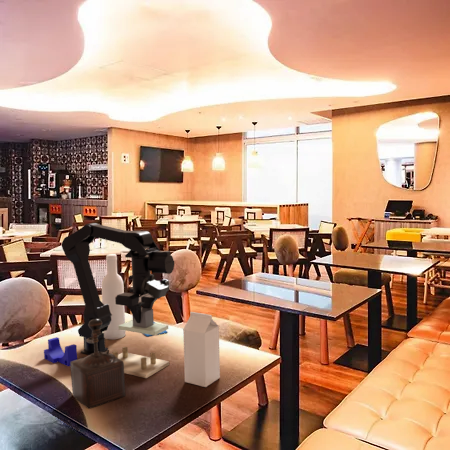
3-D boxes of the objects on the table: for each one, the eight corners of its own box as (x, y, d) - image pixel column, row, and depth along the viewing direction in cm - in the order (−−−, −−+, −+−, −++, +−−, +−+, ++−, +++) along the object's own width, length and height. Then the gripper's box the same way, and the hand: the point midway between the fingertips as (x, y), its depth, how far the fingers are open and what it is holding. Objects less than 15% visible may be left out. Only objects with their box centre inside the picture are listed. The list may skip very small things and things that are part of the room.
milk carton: (205, 388, 121) (204, 318, 120) (184, 382, 125) (182, 315, 123) (220, 378, 127) (218, 312, 126) (199, 373, 131) (197, 308, 129)
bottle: (116, 340, 160) (112, 256, 158) (98, 338, 164) (95, 255, 161) (130, 334, 167) (127, 253, 165) (113, 331, 171) (110, 252, 168)
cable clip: (44, 359, 145) (43, 340, 144) (57, 355, 148) (56, 337, 148) (63, 368, 137) (62, 349, 136) (77, 364, 140) (76, 345, 140)
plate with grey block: (154, 335, 136) (154, 315, 135) (118, 329, 142) (117, 309, 142) (168, 328, 142) (167, 309, 141) (132, 323, 148) (132, 304, 148)
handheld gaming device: (153, 320, 181) (167, 331, 168) (154, 323, 181) (167, 333, 168) (133, 324, 177) (146, 334, 164) (133, 327, 177) (146, 337, 164)
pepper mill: (128, 395, 118) (126, 327, 116) (88, 409, 111) (84, 337, 109) (101, 377, 129) (99, 315, 128) (63, 389, 122) (60, 324, 121)
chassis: (99, 367, 137) (98, 354, 137) (124, 354, 146) (123, 342, 146) (146, 378, 128) (145, 364, 128) (169, 364, 138) (168, 351, 137)
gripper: (143, 279, 128) (145, 333, 130) (179, 268, 145) (181, 316, 146) (113, 276, 134) (115, 328, 135) (151, 266, 150) (152, 312, 151)
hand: (143, 321), depth 142 cm, fingers closed on plate with grey block, 4 cm apart
